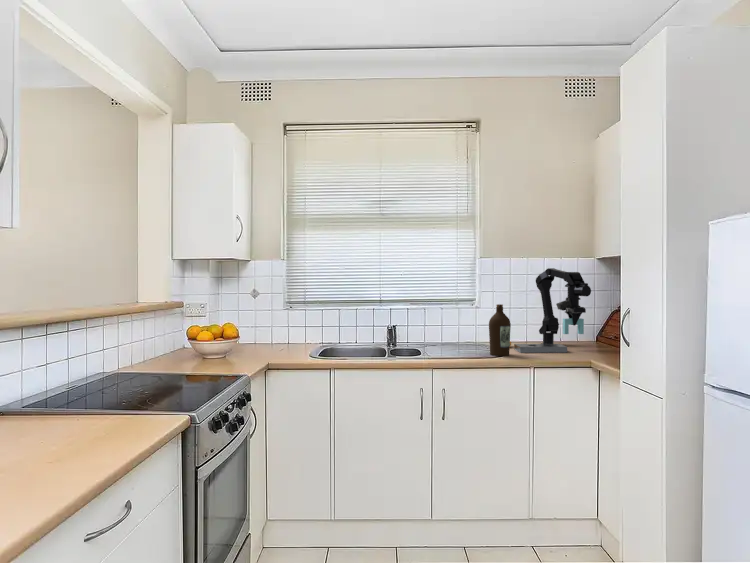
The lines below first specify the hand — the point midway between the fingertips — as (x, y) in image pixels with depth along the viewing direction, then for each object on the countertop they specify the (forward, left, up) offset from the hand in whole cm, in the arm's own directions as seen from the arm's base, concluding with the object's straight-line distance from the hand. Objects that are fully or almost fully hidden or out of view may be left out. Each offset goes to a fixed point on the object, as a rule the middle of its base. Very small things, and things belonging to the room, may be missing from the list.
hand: (573, 325), depth 298 cm
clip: (0, 0, -4) cm, 4 cm away
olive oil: (+17, -43, -13) cm, 48 cm away
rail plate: (+5, -19, -13) cm, 23 cm away
